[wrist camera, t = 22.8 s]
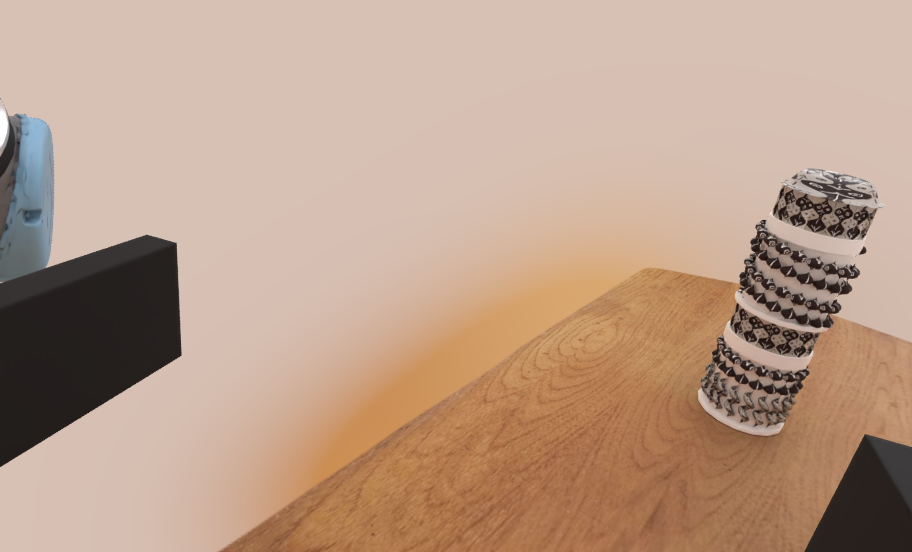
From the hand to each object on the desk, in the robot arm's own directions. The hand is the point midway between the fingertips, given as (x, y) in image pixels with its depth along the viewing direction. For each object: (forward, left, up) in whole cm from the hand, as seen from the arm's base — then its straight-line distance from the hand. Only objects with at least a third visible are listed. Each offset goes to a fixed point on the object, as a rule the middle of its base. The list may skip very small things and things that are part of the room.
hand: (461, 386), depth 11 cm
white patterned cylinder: (+48, +21, -26) cm, 58 cm away
